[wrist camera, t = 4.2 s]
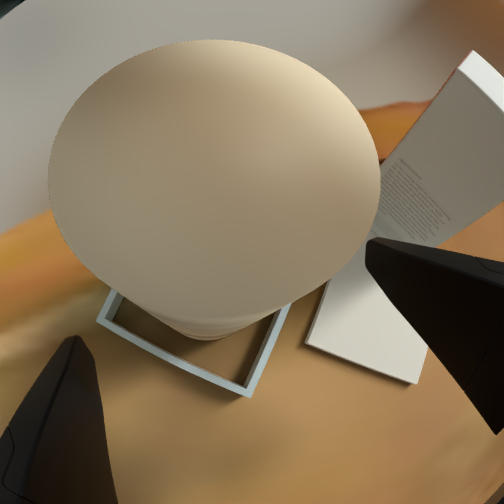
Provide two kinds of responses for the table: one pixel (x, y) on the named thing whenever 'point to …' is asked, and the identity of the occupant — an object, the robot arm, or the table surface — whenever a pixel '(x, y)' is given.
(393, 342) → the mat
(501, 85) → the small box
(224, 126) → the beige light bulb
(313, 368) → the table surface
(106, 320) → the light blue square frame
